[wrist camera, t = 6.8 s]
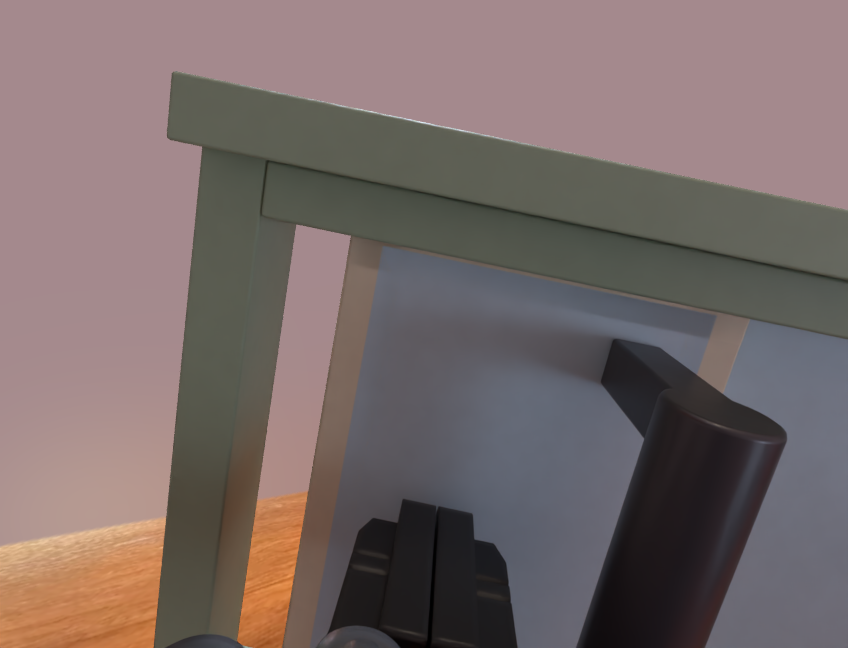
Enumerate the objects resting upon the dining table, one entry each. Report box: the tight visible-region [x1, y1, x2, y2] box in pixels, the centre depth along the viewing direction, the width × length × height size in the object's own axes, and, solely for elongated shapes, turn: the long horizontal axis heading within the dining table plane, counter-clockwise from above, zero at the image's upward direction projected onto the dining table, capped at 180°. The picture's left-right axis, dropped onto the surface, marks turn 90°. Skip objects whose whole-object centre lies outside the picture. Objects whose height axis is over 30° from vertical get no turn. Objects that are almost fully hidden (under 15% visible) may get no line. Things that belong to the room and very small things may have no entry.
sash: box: [282, 236, 787, 648], centre depth 10 cm, size 5×8×14 cm, turn 87°
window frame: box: [154, 71, 848, 648], centre depth 12 cm, size 6×22×17 cm, turn 87°
